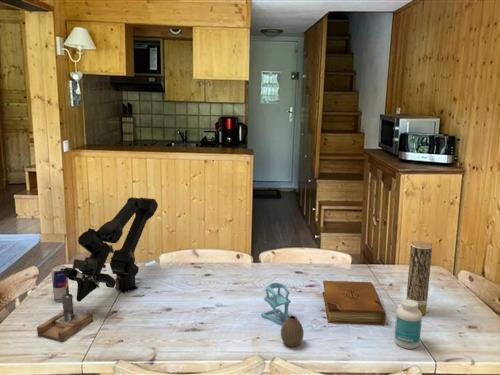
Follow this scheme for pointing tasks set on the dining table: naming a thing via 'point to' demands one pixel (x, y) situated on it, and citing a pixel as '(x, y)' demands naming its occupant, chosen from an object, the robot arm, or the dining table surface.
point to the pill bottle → (408, 325)
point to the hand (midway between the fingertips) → (78, 301)
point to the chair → (276, 302)
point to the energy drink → (59, 283)
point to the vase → (292, 332)
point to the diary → (352, 303)
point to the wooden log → (419, 273)
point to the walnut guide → (62, 333)
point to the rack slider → (67, 312)
